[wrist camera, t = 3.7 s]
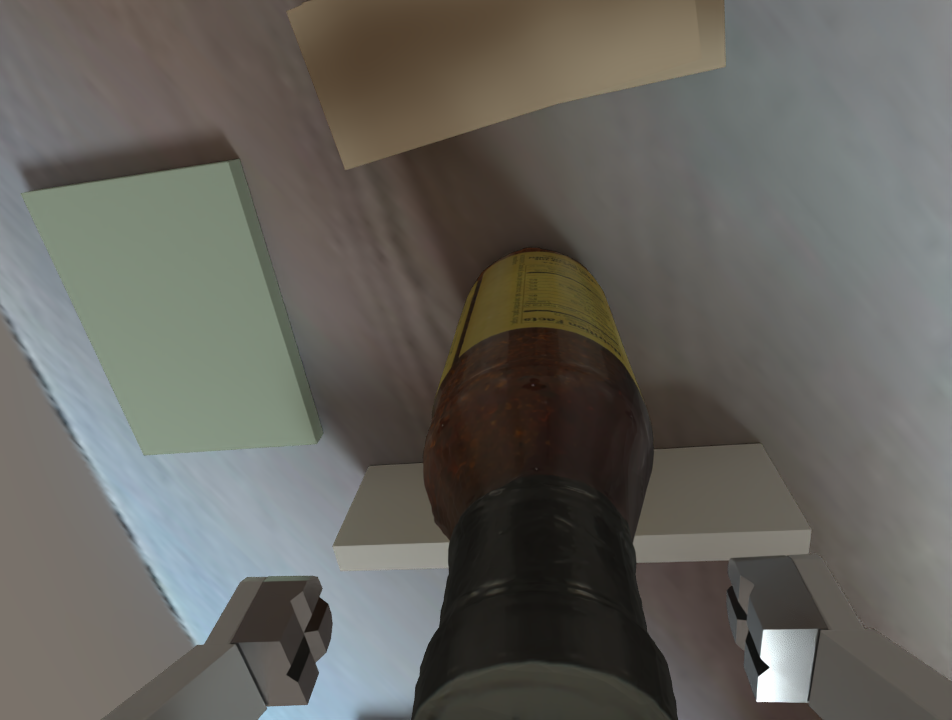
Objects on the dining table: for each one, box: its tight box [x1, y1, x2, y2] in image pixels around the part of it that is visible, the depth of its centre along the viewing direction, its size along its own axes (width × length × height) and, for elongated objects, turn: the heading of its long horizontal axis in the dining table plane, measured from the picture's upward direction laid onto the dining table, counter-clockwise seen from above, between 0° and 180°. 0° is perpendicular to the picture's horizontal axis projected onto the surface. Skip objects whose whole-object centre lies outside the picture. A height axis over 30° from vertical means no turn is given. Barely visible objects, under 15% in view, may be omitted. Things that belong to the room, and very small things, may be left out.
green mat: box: [21, 159, 323, 455], centre depth 28 cm, size 14×10×1 cm
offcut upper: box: [286, 0, 702, 170], centre depth 19 cm, size 5×12×2 cm, turn 107°
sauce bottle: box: [411, 248, 678, 720], centre depth 17 cm, size 7×6×20 cm
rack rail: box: [332, 443, 812, 571], centre depth 27 cm, size 2×20×6 cm, turn 99°
